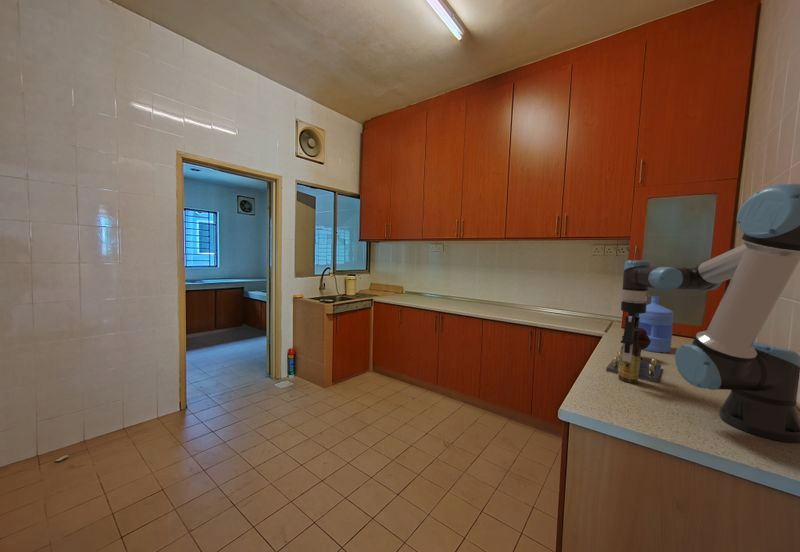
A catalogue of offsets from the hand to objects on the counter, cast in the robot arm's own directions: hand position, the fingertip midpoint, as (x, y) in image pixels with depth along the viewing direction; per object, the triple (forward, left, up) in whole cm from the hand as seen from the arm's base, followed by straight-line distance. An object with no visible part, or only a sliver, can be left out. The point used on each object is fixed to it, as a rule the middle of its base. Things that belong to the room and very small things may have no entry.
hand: (629, 357), depth 116 cm
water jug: (+66, -2, -9) cm, 66 cm away
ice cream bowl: (+38, +2, -9) cm, 39 cm away
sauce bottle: (0, 0, -9) cm, 9 cm away
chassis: (+17, 0, -9) cm, 19 cm away
